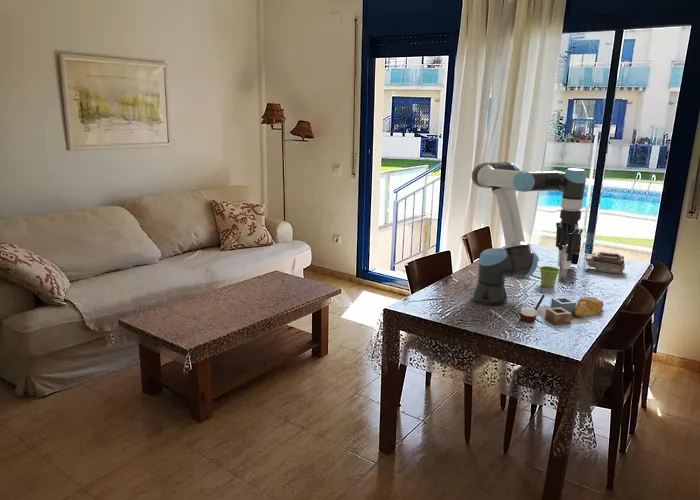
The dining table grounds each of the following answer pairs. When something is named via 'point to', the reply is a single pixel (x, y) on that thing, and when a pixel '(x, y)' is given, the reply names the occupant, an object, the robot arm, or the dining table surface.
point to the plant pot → (548, 276)
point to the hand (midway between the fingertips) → (563, 267)
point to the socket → (564, 304)
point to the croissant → (588, 306)
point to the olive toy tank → (606, 262)
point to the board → (574, 320)
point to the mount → (558, 315)
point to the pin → (562, 271)
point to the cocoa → (529, 313)
